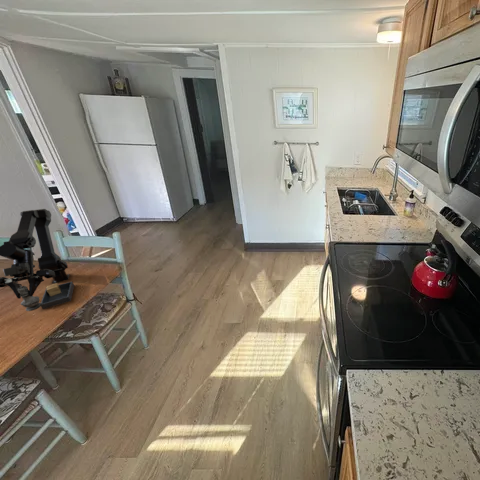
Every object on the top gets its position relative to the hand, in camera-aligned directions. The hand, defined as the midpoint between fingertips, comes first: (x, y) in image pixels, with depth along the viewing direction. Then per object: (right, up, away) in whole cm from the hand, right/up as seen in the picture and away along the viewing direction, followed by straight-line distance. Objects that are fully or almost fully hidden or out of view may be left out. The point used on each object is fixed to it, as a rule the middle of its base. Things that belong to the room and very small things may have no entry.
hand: (25, 297), depth 113 cm
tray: (-2, -4, +17) cm, 18 cm away
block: (-6, -2, +19) cm, 21 cm away
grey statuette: (-1, -5, +4) cm, 7 cm away
